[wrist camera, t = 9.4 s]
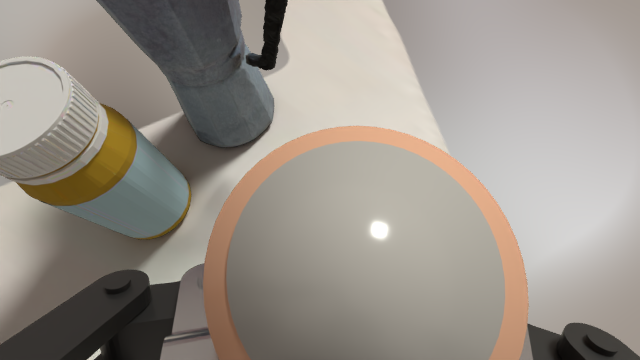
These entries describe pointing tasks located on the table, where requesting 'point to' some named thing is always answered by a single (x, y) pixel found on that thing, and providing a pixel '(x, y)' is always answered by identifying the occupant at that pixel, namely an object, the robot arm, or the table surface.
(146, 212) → the bottle
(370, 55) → the table surface
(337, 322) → the orange cylinder
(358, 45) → the table surface
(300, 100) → the table surface
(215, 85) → the moka pot
